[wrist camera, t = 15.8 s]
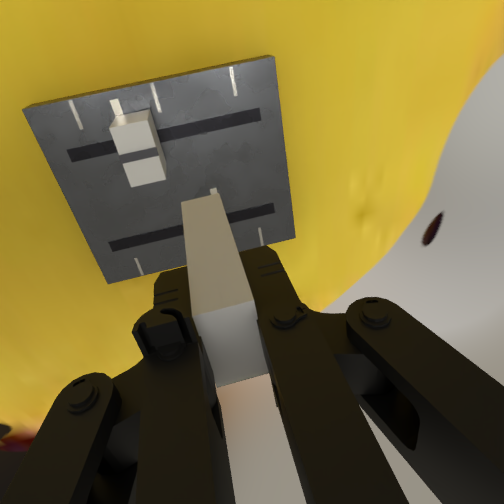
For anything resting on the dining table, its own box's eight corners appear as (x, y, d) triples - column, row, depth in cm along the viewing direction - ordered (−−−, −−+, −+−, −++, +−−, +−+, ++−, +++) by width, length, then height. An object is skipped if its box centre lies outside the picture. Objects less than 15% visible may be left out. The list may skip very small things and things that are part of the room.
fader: (134, 170, 35) (130, 188, 31) (115, 116, 32) (108, 128, 28) (167, 163, 35) (166, 179, 31) (150, 109, 32) (147, 120, 28)
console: (110, 272, 43) (107, 284, 41) (31, 104, 33) (21, 109, 30) (289, 228, 44) (295, 238, 42) (268, 54, 34) (274, 56, 32)
